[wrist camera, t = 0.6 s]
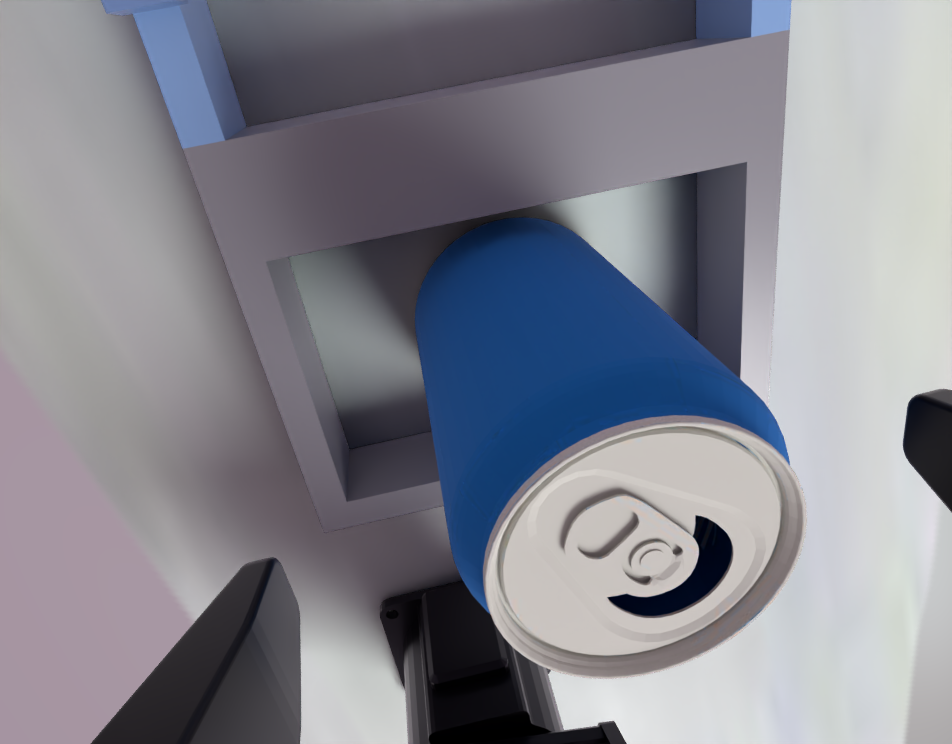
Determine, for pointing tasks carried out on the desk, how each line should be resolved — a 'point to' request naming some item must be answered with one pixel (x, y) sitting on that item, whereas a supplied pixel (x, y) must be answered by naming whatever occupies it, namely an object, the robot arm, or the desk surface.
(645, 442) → the beverage can
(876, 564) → the desk surface
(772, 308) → the slot holder
